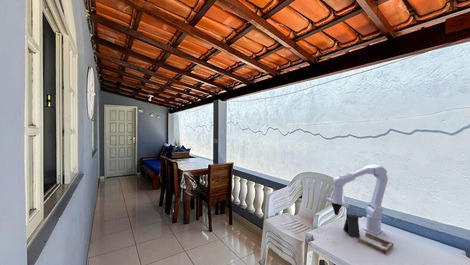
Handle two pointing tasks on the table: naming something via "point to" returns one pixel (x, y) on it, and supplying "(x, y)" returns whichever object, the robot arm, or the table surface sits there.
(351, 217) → the phone stand
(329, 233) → the table surface
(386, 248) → the walnut bracket
